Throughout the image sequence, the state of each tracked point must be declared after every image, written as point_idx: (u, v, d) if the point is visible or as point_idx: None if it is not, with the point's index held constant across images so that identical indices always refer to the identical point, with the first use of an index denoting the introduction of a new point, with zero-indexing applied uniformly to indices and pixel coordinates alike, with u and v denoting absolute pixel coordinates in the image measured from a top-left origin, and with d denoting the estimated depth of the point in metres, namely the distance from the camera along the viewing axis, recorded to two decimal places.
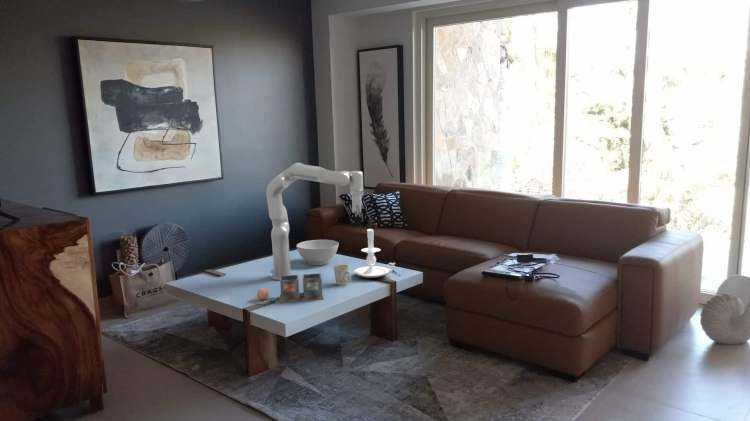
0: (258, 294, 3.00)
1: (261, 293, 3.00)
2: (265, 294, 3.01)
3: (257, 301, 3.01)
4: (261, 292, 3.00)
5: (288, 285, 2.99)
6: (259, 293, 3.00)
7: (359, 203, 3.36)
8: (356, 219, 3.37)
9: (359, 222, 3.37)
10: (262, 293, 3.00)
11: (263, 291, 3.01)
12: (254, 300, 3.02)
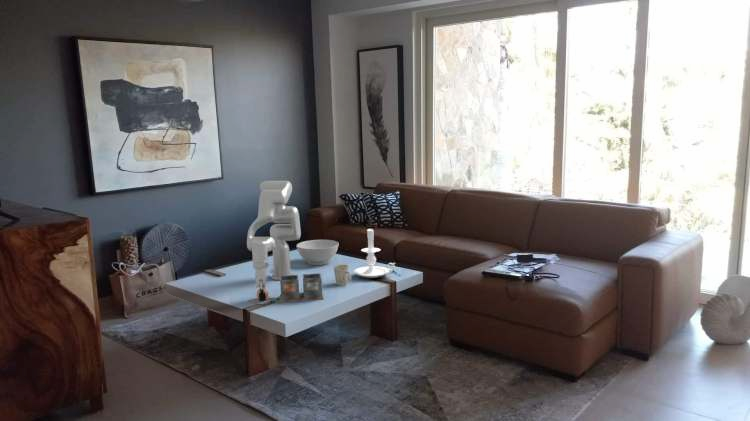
0: (258, 294, 3.00)
1: None
2: (265, 294, 3.01)
3: (257, 301, 3.01)
4: None
5: (288, 285, 2.99)
6: None
7: (263, 277, 2.97)
8: (260, 296, 2.99)
9: (263, 299, 3.00)
10: None
11: None
12: (254, 300, 3.02)
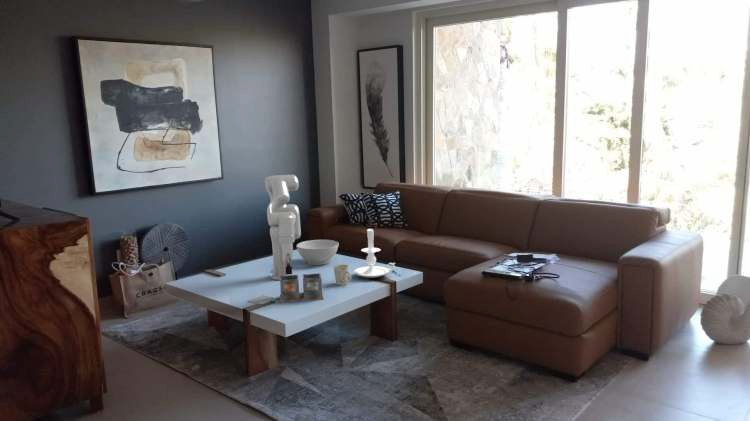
0: None
1: None
2: None
3: (257, 301, 3.01)
4: None
5: (288, 285, 2.99)
6: None
7: (290, 251, 2.97)
8: (287, 269, 2.98)
9: (290, 272, 2.98)
10: None
11: None
12: (254, 300, 3.02)
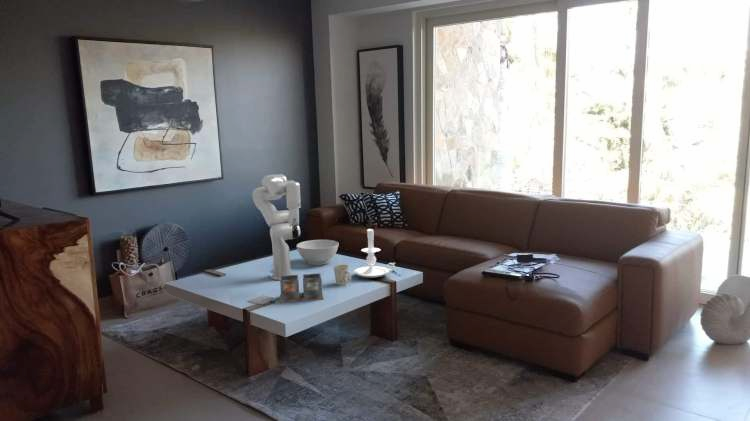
0: None
1: None
2: None
3: (257, 301, 3.01)
4: None
5: (288, 285, 2.99)
6: None
7: (296, 216, 3.16)
8: (293, 233, 3.17)
9: (297, 236, 3.17)
10: None
11: None
12: (254, 300, 3.02)
